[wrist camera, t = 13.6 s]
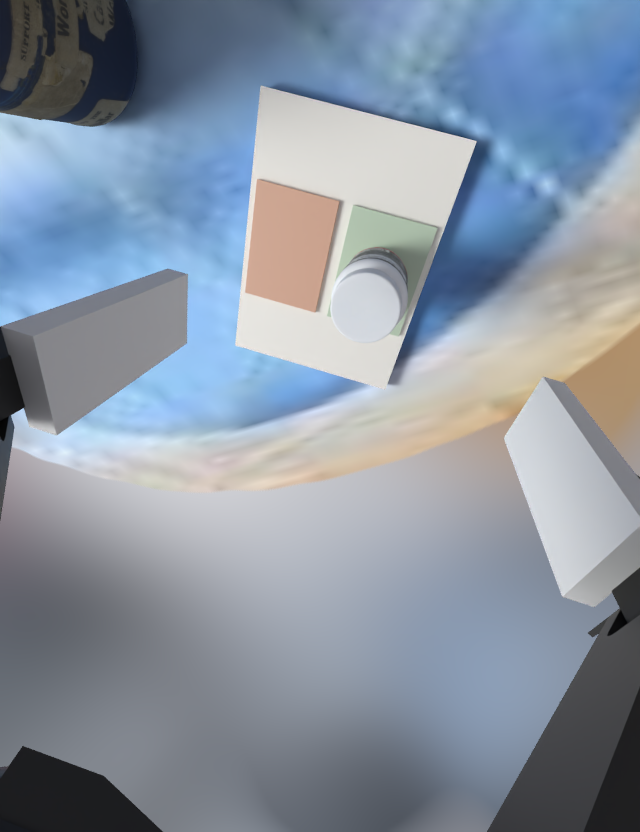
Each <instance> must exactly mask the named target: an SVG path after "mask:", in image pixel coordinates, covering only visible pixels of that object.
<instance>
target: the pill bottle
mask: <svg viewBox="0 0 640 832" xmlns="http://www.w3.org/2000/svg"><path fill="white" fill-rule="evenodd" d="M407 302H408V276H407V271H406V268H405V265H404V264H403V262H402V260H401V259H400V258H399V257H398V255H396V254H395V253H394V252H392V251H391V250H388V249H385V248H381V247H373V248H368V249H365V250H363V251H361V252H359V253H358V254H357V255H355V256H354V257H353V259H352V260H351V261H350V262H349V264H348V265H347V266H346V267H345V268H344V270H343V271H342V272H341V273H340V275H339V276H338V278H337V279H336V281H335V283H334V286H333V289H332V295H331V305H330V311H331V317H332V320H333V323H334V325H335V326H336V328H337V329H338V331H339V332H340V333H341V334H342V335H344V336H345V337H346V338H348V339H350V340H352V341H355V342H359V343H372V342H376V341H379V340H381V339H383V338H384V337H386V336H387V335H389V334H390V333H391V332H392V331H393V329H394V328H395V326H396V325H397V324H398V323H399V322H400V320H401V319H402V317H403V315H404V313H405V311H406V307H407Z"/></svg>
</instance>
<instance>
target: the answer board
mask: <svg viewBox="0 0 640 832" xmlns="http://www.w3.org/2000/svg"><path fill="white" fill-rule="evenodd" d="M476 142H477V141H474V140H470V139H467V138H463V137H459V136H455V135H451V134H447V133H443V132H439V131H435V130H432V129H428V128H424V127H420V126H416V125H412V124H408V123H404V122H400V121H397V120H393V119H389V118H385V117H381V116H377V115H373V114H369V113H365V112H362V111H358V110H354V109H350V108H346V107H342V106H338V105H334V104H330V103H327V102H323V101H319V100H315V99H311V98H307V97H303V96H299V95H295V94H292V93H288V92H284V91H280V90H276V89H272V88H268V87H264V86H261V88H260V98H259V108H258V118H257V129H256V139H255V149H254V159H253V170H252V180H251V190H250V200H249V211H248V221H247V231H246V241H245V252H244V262H243V272H242V282H241V292H240V303H239V313H238V323H237V333H236V344H235V345H236V346H239V347H243V348H246V349H249V350H253V351H256V352H260V353H263V354H266V355H270V356H273V357H277V358H280V359H283V360H287V361H290V362H294V363H297V364H300V365H304V366H307V367H310V368H314V369H317V370H321V371H324V372H327V373H331V374H334V375H338V376H341V377H344V378H348V379H351V380H355V381H358V382H361V383H365V384H368V385H371V386H375V387H378V388H382V389H386V386H387V384H388V381H389V378H390V375H391V373H392V370H393V367H394V365H395V362H396V359H397V356H398V354H399V351H400V348H401V346H402V343H403V340H404V337H405V335H406V332H407V329H408V327H409V324H410V321H411V318H412V316H413V313H414V310H415V308H416V305H417V302H418V299H419V297H420V294H421V291H422V289H423V286H424V283H425V280H426V278H427V275H428V272H429V270H430V267H431V264H432V262H433V259H434V256H435V253H436V251H437V248H438V245H439V243H440V240H441V237H442V234H443V232H444V229H445V226H446V224H447V221H448V218H449V215H450V213H451V210H452V207H453V205H454V202H455V199H456V196H457V194H458V191H459V188H460V186H461V183H462V180H463V177H464V175H465V172H466V169H467V167H468V164H469V161H470V158H471V156H472V153H473V150H474V148H475V145H476ZM373 247H381V248H385V249H388V250H391V251H392V252H394V253H395V254H396V255H398V257H399V258H400V259H401V260H402V262H403V264H404V265H405V268H406V271H407V276H408V302H407V307H406V311H405V313H404V315H403V317H402V319H401V320H400V322H399V323H398V324H397V325H396V326H395V328H394V329H393V331H392V332H391V333H390V334H389V335H387V336H386V337H384V338H383V339H381V340H379V341H376V342H372V343H359V342H355V341H352V340H350V339H348V338H346V337H345V336H344V335H342V334H341V333H340V332H339V331H338V329H337V328H336V326H335V325H334V323H333V320H332V317H331V311H330V305H331V295H332V289H333V286H334V283H335V281H336V279H337V278H338V276H339V275H340V273H341V272H342V271H343V270H344V268H345V267H346V266H347V265H348V264H349V262H350V261H351V260H352V259H353V257H354V256H355V255H357V254H358V253H359V252H361V251H363V250H365V249H368V248H373Z"/></svg>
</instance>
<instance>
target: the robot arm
mask: <svg viewBox="0 0 640 832" xmlns="http://www.w3.org/2000/svg"><path fill="white" fill-rule="evenodd" d="M187 289H188V274H185V273H181V272H178V271H174V270H171V269H166V270H163V271H160V272H157V273H154V274H151V275H148V276H145V277H143V278H140V279H137V280H134V281H131V282H128V283H125V284H122V285H119V286H116V287H114V288H111V289H108V290H105V291H102V292H99V293H96V294H93V295H90V296H88V297H85V298H82V299H79V300H76V301H73V302H70V303H67V304H64V305H61V306H59V307H56V308H53V309H50V310H47V311H44V312H41V313H38V314H35V315H33V316H30V317H27V318H24V319H21V320H18V321H15V322H12V323H9V324H6V325H4V326H1V327H0V519H1V512H2V506H3V499H4V492H5V486H6V479H7V472H8V466H9V459H10V452H11V446H12V439H13V433H14V424H13V421H12V418H11V415H12V414H14V413H15V412H17V411H19V410H21V409H22V408H24V410H25V413H26V417H27V420H28V423H29V427H32V428H35V429H38V430H41V431H44V432H47V433H51V434H54V435H58V434H59V433H61V432H62V431H64V430H65V429H66V428H68V427H69V426H71V425H72V424H74V423H75V422H76V421H78V420H79V419H81V418H82V417H83V416H85V415H86V414H88V413H89V412H90V411H92V410H93V409H95V408H96V407H98V406H99V405H100V404H102V403H103V402H105V401H106V400H107V399H109V398H110V397H112V396H113V395H115V394H116V393H117V392H119V391H120V390H122V389H123V388H124V387H126V386H127V385H129V384H130V383H131V382H133V381H134V380H136V379H137V378H139V377H140V376H141V375H143V374H144V373H146V372H147V371H148V370H150V369H151V368H153V367H154V366H155V365H157V364H158V363H160V362H161V361H163V360H164V359H165V358H167V357H168V356H170V355H171V354H172V353H174V352H175V351H177V350H178V349H179V348H181V347H182V346H184V345H185V344H187ZM504 440H505V443H506V445H507V448H508V451H509V453H510V456H511V459H512V461H513V464H514V467H515V469H516V472H517V475H518V478H519V480H520V483H521V486H522V489H523V491H524V494H525V497H526V499H527V502H528V505H529V507H530V510H531V513H532V516H533V518H534V521H535V524H536V526H537V529H538V532H539V535H540V537H541V540H542V543H543V546H544V548H545V551H546V554H547V556H548V559H549V562H550V565H551V567H552V570H553V573H554V575H555V578H556V581H557V583H558V586H559V589H560V592H561V594H562V597H565V598H568V599H571V600H574V601H577V602H580V603H584V604H586V605H590V606H593V607H595V606H596V605H598V604H599V603H600V602H601V601H602V600H604V599H605V598H606V597H607V596H608V595H610V594H611V593H613V595H614V597H615V599H616V601H617V603H618V605H619V607H620V609H618V610H617V611H616V612H614V613H613V614H612V615H611V616H609V617H608V618H607V619H605V620H604V621H603V622H602V623H600V624H599V625H598V626H596V627H595V628H594V629H592V630H591V631H590V632H588V634H590V635H591V636H592V637H594V636H595V635H597V634H599V635H598V636H597V638H596V640H595V642H594V644H593V645H592V647H591V649H590V651H589V652H588V654H587V656H586V658H585V659H584V661H583V663H582V665H581V667H580V669H579V670H578V672H577V674H576V675H575V677H574V679H573V681H572V682H571V684H570V686H569V688H568V689H567V692H566V693H565V695H564V697H563V698H562V700H561V702H560V704H559V706H558V707H557V709H556V711H555V712H554V714H553V716H552V718H551V720H550V722H549V723H548V725H547V727H546V728H545V730H544V732H543V734H542V735H541V738H540V739H539V741H538V743H537V744H536V746H535V748H534V750H533V751H532V753H531V755H530V757H529V758H528V760H527V762H526V764H525V765H524V767H523V769H522V771H521V773H520V774H519V776H518V778H517V780H516V781H515V783H514V785H513V787H512V788H511V790H510V792H509V794H508V796H507V797H506V799H505V801H504V803H503V805H502V806H501V808H500V810H499V812H498V813H497V815H496V817H495V818H494V820H493V822H492V824H491V826H490V827H489V829H488V831H487V832H640V477H639V476H638V475H637V474H635V473H634V471H633V470H632V468H631V467H630V466H629V465H628V463H627V462H626V461H625V460H624V458H623V457H622V456H621V454H620V453H619V452H618V451H617V449H616V448H615V447H614V445H613V444H612V443H611V442H610V440H609V439H608V438H607V436H606V435H605V434H604V433H603V431H602V430H601V429H600V427H599V426H598V425H597V424H596V423H595V421H594V420H593V418H592V417H591V416H590V415H589V413H588V412H587V411H586V409H585V408H584V407H583V406H582V404H581V403H580V402H579V401H578V399H577V398H576V397H575V395H574V394H573V393H572V392H571V390H570V389H569V388H568V386H567V385H566V384H565V383H563V382H560V381H556V380H553V379H549V378H546V377H542V379H541V380H540V382H539V384H538V385H537V387H536V388H535V390H534V391H533V393H532V395H531V396H530V398H529V399H528V401H527V402H526V404H525V406H524V407H523V409H522V410H521V412H520V413H519V415H518V417H517V418H516V420H515V421H514V423H513V424H512V426H511V427H510V429H509V431H508V432H507V434H506V436H505V437H504ZM0 832H162V831H161V830H160V829H159V828H158V827H157V826H156V825H155V824H154V823H153V822H152V821H151V820H150V819H149V818H148V817H147V816H146V815H145V814H143V813H142V812H141V811H140V810H139V809H138V808H137V807H136V806H135V805H134V804H133V803H132V802H131V801H130V800H129V799H128V798H126V797H125V796H124V795H123V794H122V793H121V792H120V791H119V790H118V789H117V788H116V787H115V786H114V785H113V784H112V783H110V781H108V780H107V779H106V778H105V777H104V776H102V775H100V774H97V773H94V772H91V771H89V770H86V769H83V768H81V767H78V766H75V765H73V764H70V763H67V762H64V761H62V760H59V759H56V758H54V757H51V756H48V755H46V754H43V753H40V752H37V751H35V750H32V749H29V748H26V747H24V746H22V748H21V750H20V751H19V752H18V754H17V755H16V757H15V758H14V759H13V761H12V762H11V764H10V765H9V767H0Z"/></svg>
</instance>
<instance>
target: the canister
mask: <svg viewBox="0 0 640 832" xmlns="http://www.w3.org/2000/svg"><path fill="white" fill-rule="evenodd" d="M136 76H137V45H136V37H135V31H134V27H133V22H132V19H131V15H130V12H129V9H128V6H127V3H126V1H125V0H0V112H1V113H6V114H11V115H17V116H22V117H28V118H33V119H39V120H42V119H45V120H53V121H60V122H66V123H71V124H74V125H80V126H89V127H93V126H100V125H104V124H106V123H109V122H111V121H113V120H114V119H115V118H117V117H118V116H119V115H120V114H121V113H122V111H123V110H124V109H125V107H126V106H127V104H128V102H129V100H130V98H131V95H132V93H133V90H134V86H135V82H136Z"/></svg>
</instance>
